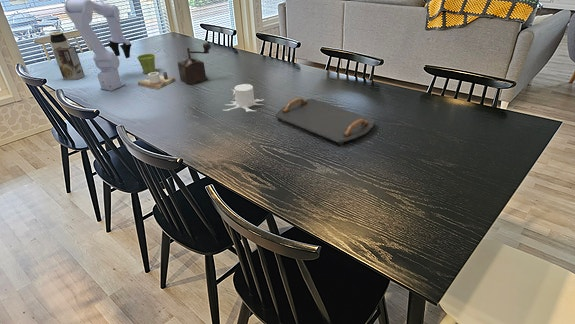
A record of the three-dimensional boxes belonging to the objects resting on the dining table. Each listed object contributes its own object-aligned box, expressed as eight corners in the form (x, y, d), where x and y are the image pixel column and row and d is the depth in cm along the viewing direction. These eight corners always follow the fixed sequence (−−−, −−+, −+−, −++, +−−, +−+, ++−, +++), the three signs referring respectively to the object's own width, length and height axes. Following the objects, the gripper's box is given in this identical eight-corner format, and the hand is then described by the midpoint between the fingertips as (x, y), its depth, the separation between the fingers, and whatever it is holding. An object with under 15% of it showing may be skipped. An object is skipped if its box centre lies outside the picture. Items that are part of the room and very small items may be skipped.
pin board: (156, 89, 187) (154, 79, 185) (138, 85, 193) (135, 75, 190) (175, 80, 197) (173, 71, 194) (156, 77, 202) (154, 68, 200)
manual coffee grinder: (189, 85, 190) (182, 49, 181) (179, 79, 198) (173, 45, 188) (216, 78, 198) (211, 43, 189) (206, 73, 206) (201, 39, 196)
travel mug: (69, 65, 226) (59, 34, 216) (56, 65, 226) (45, 34, 216) (76, 60, 233) (66, 30, 223) (63, 61, 233) (53, 31, 223)
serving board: (269, 119, 156) (268, 105, 152) (306, 102, 169) (306, 89, 166) (345, 151, 132) (346, 136, 129) (382, 128, 146) (383, 113, 143)
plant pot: (155, 74, 206) (151, 58, 202) (138, 74, 207) (134, 59, 202) (160, 68, 214) (157, 53, 210) (144, 69, 215) (140, 54, 210)
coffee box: (85, 75, 209) (75, 46, 200) (78, 79, 203) (68, 49, 195) (69, 75, 210) (59, 46, 201) (62, 79, 204) (51, 49, 196)
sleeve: (162, 82, 191) (160, 72, 188) (155, 85, 187) (153, 76, 185) (155, 81, 193) (153, 71, 191) (148, 84, 190) (145, 74, 187)
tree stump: (242, 93, 181) (241, 76, 176) (275, 101, 171) (274, 84, 167) (212, 108, 167) (210, 90, 163) (246, 118, 157) (244, 100, 153)
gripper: (131, 29, 193) (138, 56, 200) (112, 27, 199) (119, 53, 206) (120, 33, 188) (128, 60, 195) (101, 30, 194) (108, 56, 201)
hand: (122, 56), depth 200 cm, fingers open, 7 cm apart
